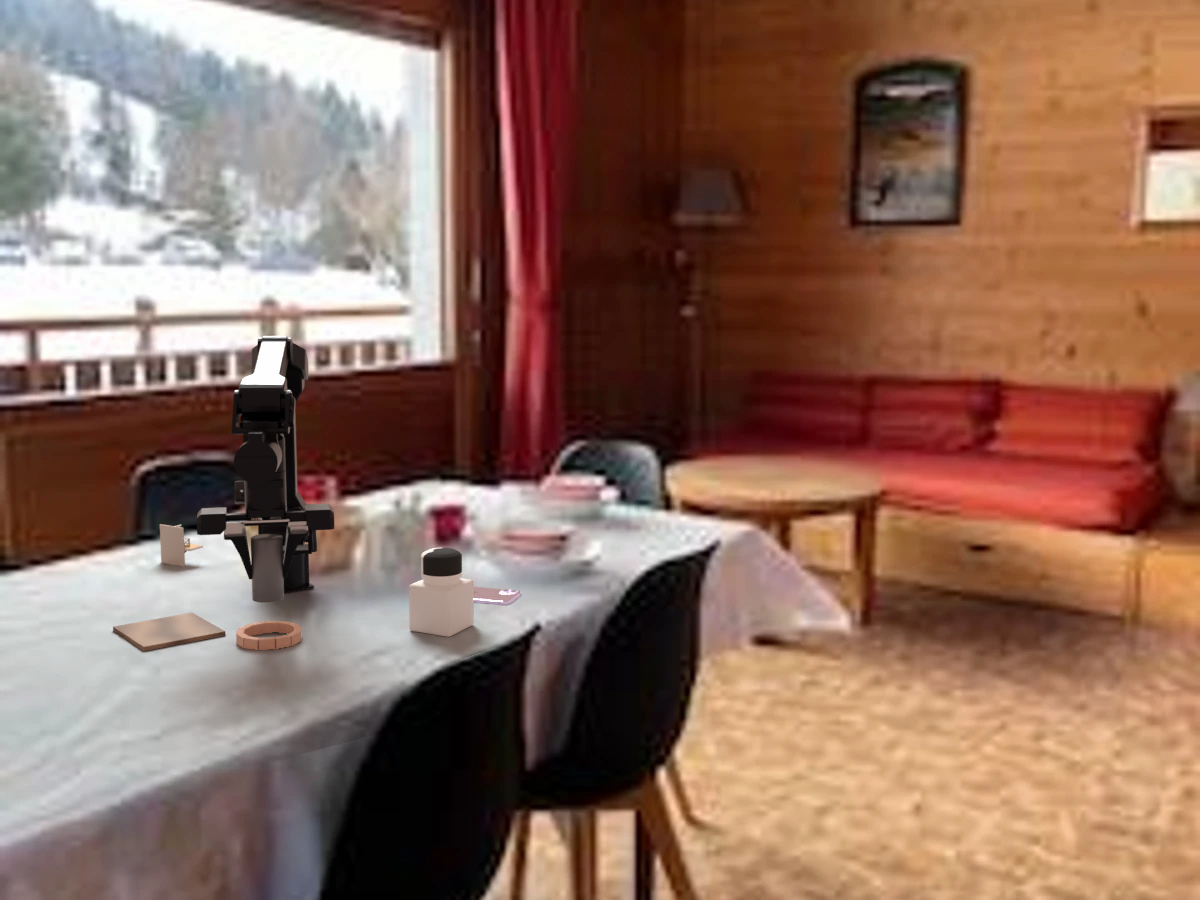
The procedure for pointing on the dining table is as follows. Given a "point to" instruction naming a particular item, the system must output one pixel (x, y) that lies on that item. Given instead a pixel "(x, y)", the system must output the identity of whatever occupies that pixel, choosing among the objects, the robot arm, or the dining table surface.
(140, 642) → the coaster
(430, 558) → the medicine bottle
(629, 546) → the dining table surface
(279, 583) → the cylinder
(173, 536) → the architectural model
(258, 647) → the orange segmented ring
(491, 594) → the mobile phone
